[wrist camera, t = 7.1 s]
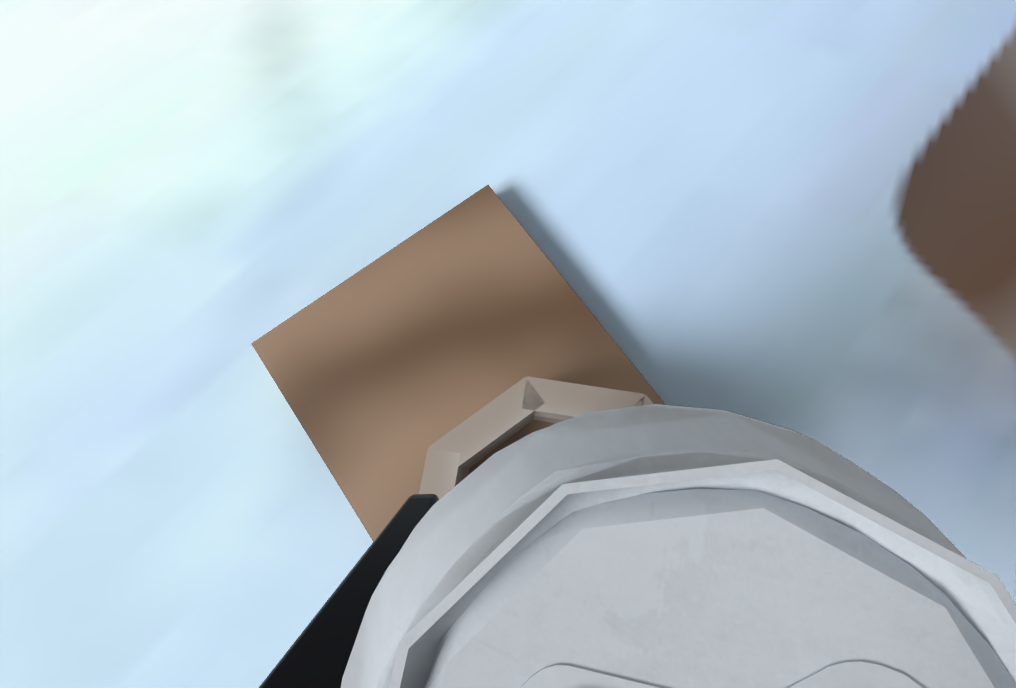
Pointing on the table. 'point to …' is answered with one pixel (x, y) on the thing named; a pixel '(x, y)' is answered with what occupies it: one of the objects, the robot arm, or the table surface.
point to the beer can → (680, 570)
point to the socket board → (443, 359)
